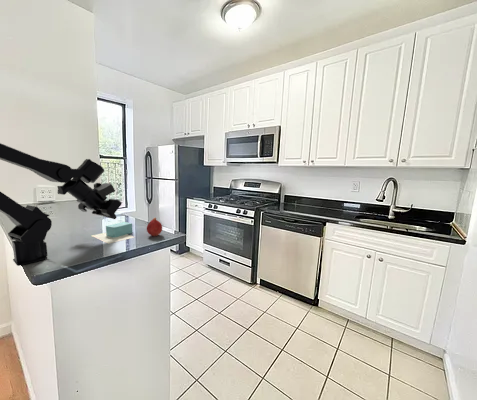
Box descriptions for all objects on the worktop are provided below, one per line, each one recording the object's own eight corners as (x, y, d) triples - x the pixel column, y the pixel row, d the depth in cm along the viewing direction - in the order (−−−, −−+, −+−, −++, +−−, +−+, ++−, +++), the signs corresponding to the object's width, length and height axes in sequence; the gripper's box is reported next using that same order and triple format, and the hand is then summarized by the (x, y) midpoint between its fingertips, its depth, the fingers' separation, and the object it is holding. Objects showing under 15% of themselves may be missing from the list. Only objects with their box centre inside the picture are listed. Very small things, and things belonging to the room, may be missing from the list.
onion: (146, 239, 87) (145, 219, 85) (148, 235, 92) (147, 216, 91) (162, 238, 88) (161, 218, 87) (162, 234, 94) (162, 215, 92)
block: (113, 227, 86) (132, 223, 93) (105, 225, 88) (124, 221, 95) (114, 237, 86) (132, 232, 93) (106, 235, 89) (124, 231, 96)
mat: (108, 245, 80) (108, 243, 80) (90, 237, 88) (90, 235, 88) (135, 238, 88) (135, 237, 88) (116, 231, 96) (116, 230, 96)
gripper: (115, 176, 78) (143, 204, 89) (84, 175, 86) (113, 200, 97) (93, 202, 72) (126, 227, 83) (62, 197, 80) (96, 221, 91)
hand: (115, 218), depth 89 cm, fingers closed
